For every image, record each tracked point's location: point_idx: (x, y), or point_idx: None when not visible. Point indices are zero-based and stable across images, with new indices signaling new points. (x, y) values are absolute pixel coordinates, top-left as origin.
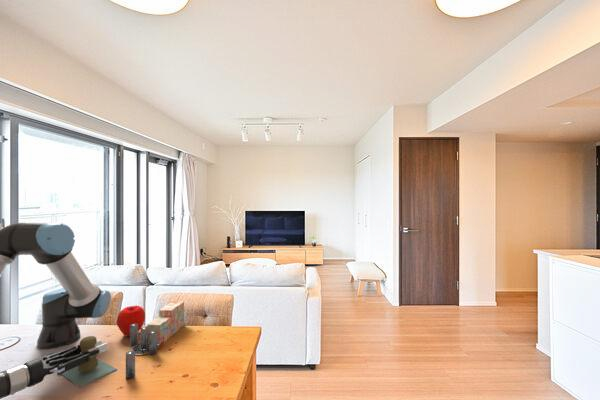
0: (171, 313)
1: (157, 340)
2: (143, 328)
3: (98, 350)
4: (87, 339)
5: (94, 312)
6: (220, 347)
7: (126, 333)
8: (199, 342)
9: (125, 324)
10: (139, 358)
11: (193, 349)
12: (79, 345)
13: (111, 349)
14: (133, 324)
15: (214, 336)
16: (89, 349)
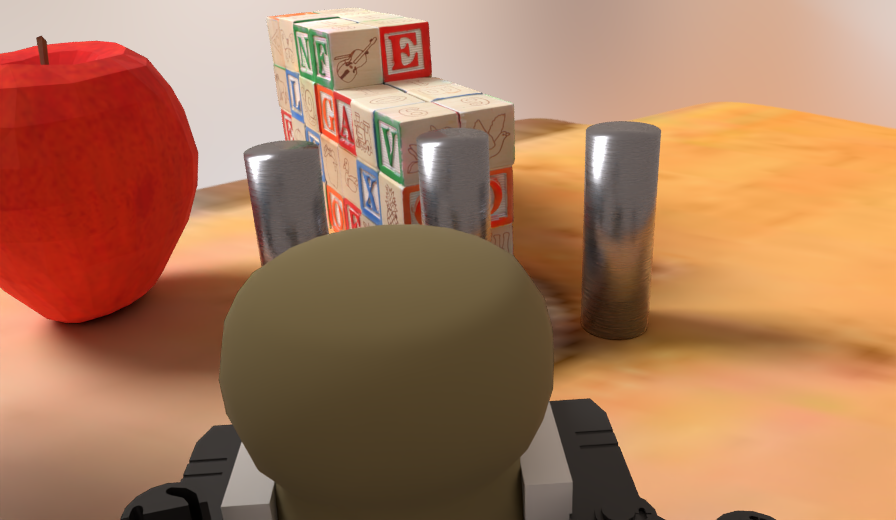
0: (428, 48)
1: (496, 242)
2: (454, 140)
3: (603, 420)
4: (458, 276)
5: None
6: (847, 176)
7: (107, 292)
8: (688, 194)
9: (110, 195)
10: (607, 386)
11: (763, 222)
12: (185, 500)
13: (158, 446)
14: (268, 150)
15: (675, 159)
16: (528, 463)
